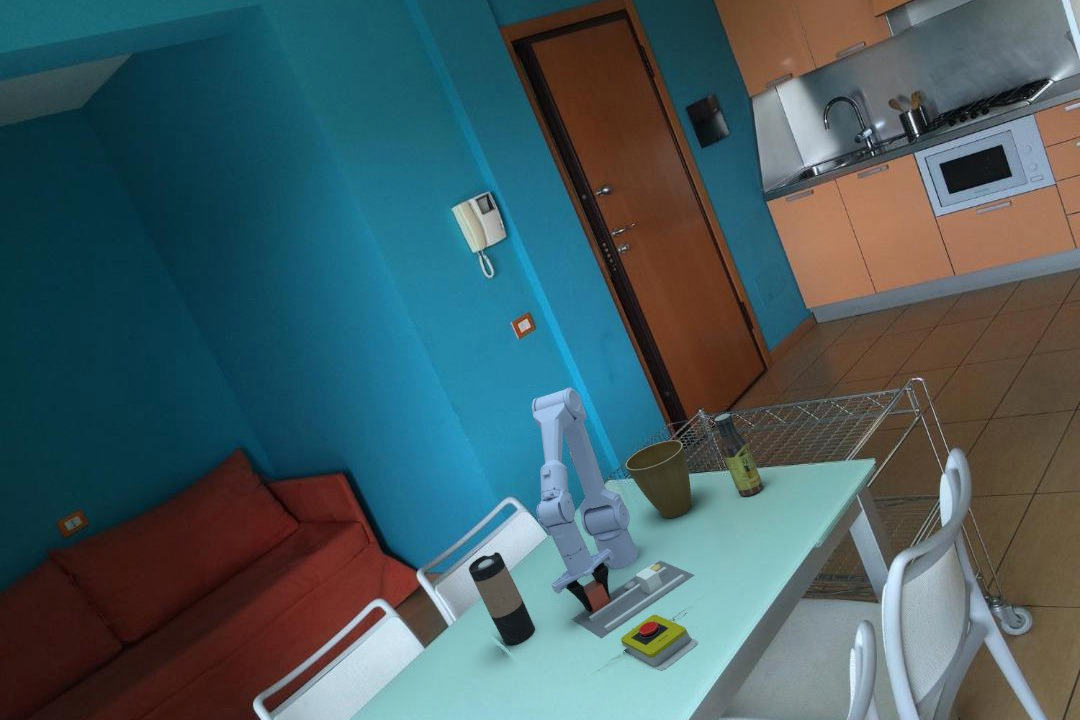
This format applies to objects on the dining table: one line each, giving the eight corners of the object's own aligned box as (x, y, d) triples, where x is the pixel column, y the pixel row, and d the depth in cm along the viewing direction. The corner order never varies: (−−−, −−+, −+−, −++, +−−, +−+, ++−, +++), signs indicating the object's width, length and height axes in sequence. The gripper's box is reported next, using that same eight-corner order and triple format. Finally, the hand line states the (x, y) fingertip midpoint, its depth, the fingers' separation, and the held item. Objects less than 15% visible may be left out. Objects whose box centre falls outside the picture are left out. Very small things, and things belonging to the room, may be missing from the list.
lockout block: (587, 609, 195) (578, 589, 195) (602, 599, 197) (593, 579, 196) (596, 614, 192) (586, 594, 191) (611, 604, 193) (602, 584, 192)
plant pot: (644, 532, 224) (618, 474, 221) (657, 503, 237) (633, 449, 235) (700, 518, 218) (675, 459, 215) (711, 490, 231) (687, 434, 228)
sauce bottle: (759, 495, 216) (728, 421, 212) (735, 499, 220) (705, 426, 216) (767, 482, 221) (737, 409, 218) (744, 485, 225) (714, 414, 221)
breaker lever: (642, 591, 193) (635, 574, 192) (653, 583, 194) (646, 567, 193) (653, 596, 189) (645, 579, 188) (664, 588, 190) (657, 572, 189)
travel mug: (515, 656, 193) (476, 575, 189) (501, 646, 200) (462, 567, 196) (544, 635, 196) (506, 555, 192) (529, 626, 203) (492, 549, 199)
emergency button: (648, 605, 181) (692, 625, 167) (656, 624, 182) (701, 645, 168) (611, 632, 177) (654, 653, 164) (620, 651, 178) (663, 674, 165)
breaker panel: (574, 625, 195) (569, 615, 194) (662, 566, 203) (658, 556, 203) (604, 644, 182) (599, 634, 181) (697, 581, 190) (692, 570, 190)
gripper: (551, 571, 185) (578, 628, 188) (609, 534, 190) (634, 590, 193) (538, 563, 192) (564, 618, 194) (594, 528, 197) (618, 582, 199)
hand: (598, 604), depth 194 cm, fingers closed on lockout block, 4 cm apart
